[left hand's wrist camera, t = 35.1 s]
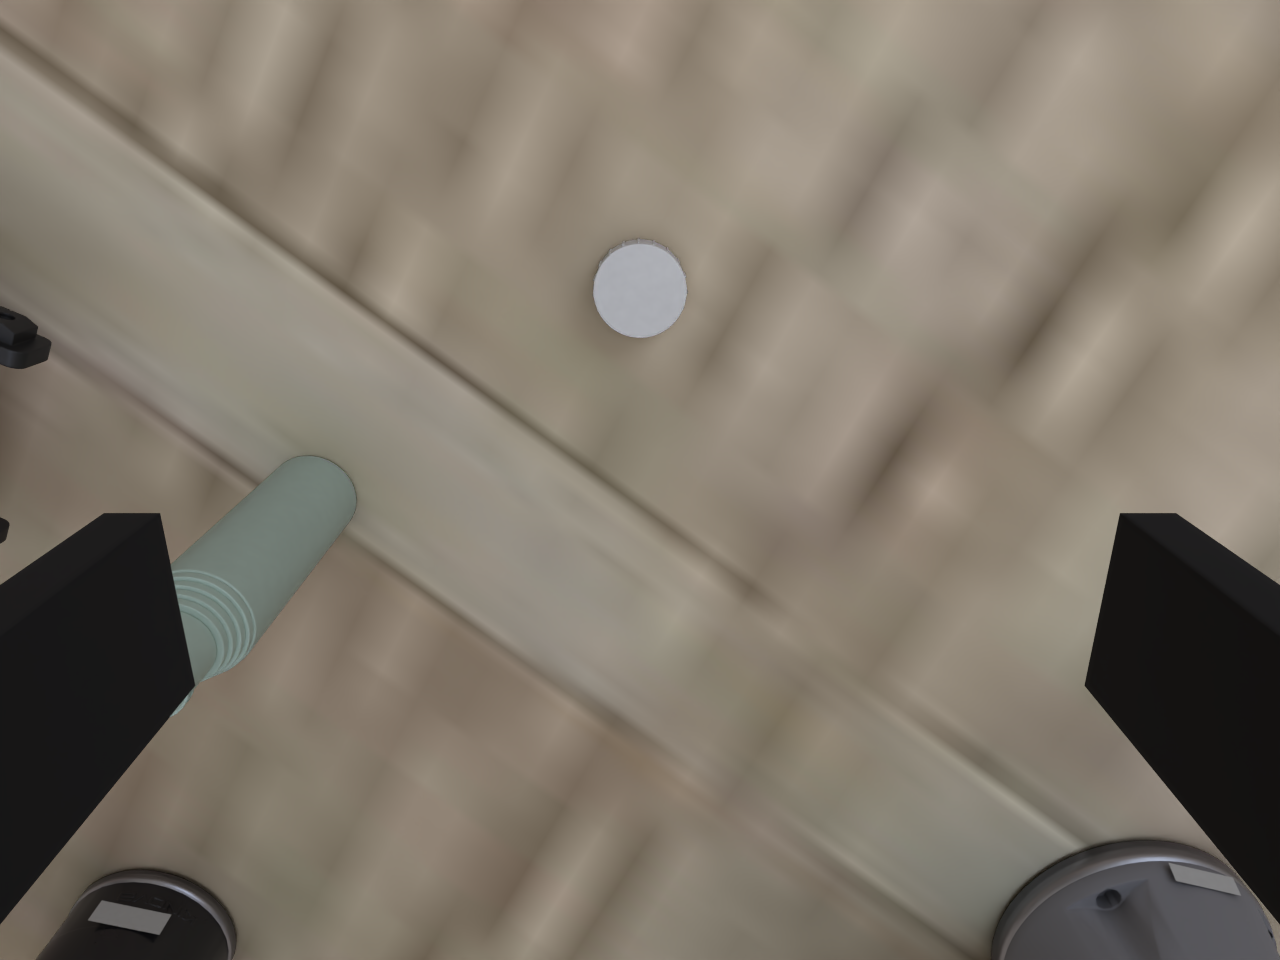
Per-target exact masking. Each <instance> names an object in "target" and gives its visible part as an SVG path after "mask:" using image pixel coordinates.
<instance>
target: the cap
mask: <svg viewBox="0 0 1280 960" xmlns="http://www.w3.org/2000/svg"><path fill="white" fill-rule="evenodd" d="M685 278H686V275H685V272H683V270H682V267H681V265H680V261H679V259H678V258H676V257H675V256H674V255H673V253H672V252H671V251H670V250H669V248H668V247H664V246H663V245H661V244H659V243H657V242H655V240H653V241H651V240H645V239H640V238H638V239H635V240H630V241H626V242H625V241H623V242H622V243H621V244H619V245H617V246H616V247H614V248H613V249H610V250H609V252H608V253H607V255H606V256H605V257H604V258H603V260H602V261H601V260H600V263H599V268H598V271H597V274H596V275H595V276H594V279H593V281H594V288H593V297H594V301H595V305H596V308H597V311H598V312H599V314H600V316H601V317H602V319H603V320H604V321H605V322H606V323H607V325H609V326H610V327H611V328H612V329H614V330H615V331H617V332H619V333H621V334H623V335H626V336H629V337H634V338H646V337H651V336H654V335H657V334H660V333H662V332H663V331H665V330H666V329H668V328H669V327H670V326H671V325H673V324H674V322H675V321H676V320H677V319H678V317H679V316H680V314H681V312H682V310H683V309H684V305H685V301H686V295H687V294H688V291H687V286H686V280H685Z"/></svg>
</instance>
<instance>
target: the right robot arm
mask: <svg viewBox="0 0 1280 960" xmlns="http://www.w3.org/2000/svg"><path fill="white" fill-rule="evenodd" d="M37 329H38V326H37V325H35V324H34V323H33V322H32V321H31V320H29V319H28V318H27V317H26V316H23V315H21V314H19V313H16V312H14V311H10V310H9V309H7V308H4V307H2V306H0V364H1V365H4V366H6V367H10V368H15V369H24V368H27V367H30V366H33V365H36V364H38V363H41V362H44V361H46V360H48V356H49V352H50V347H51V341H50V340H48V339H47V338H45V337H42V336H40V335H37ZM8 529H9V522H8V521H7V520H5V519H3V518H0V543H2V542H4V541H5V540H6V537H7V533H8ZM235 949H236V934H235V930H234V927H233V924H232V922H231V919H230V917H229V916H228V914H227V912H226V911H225V910H224V908H223V907H222V906H221V905H220V904H219V902H218V901H217V900H216V899H214V898H213V897H212V896H211V895H210V894H209V893H207V892H206V891H205V890H203V889H202V888H200V887H199V886H197V885H195V884H193V883H191V882H189V881H187V880H185V879H182V878H180V877H177V876H174V875H171V874H167V873H162V872H157V871H149V870H131V871H123V872H118V873H114V874H111V875H108V876H106V877H103V878H101V879H99V880H98V881H96V882H94V883H93V884H92V885H91V886H89V887H88V888H87V889H86V890H85V891H84V893H83V894H82V895H81V896H80V898H79V899H78V900H77V902H76V903H75V905H74V906H73V907H72V909H71V911H70V913H69V915H68V917H67V919H66V920H65V921H64V923H63V924H62V925H61V927H60V928H59V929H58V931H57V932H56V933H55V935H54V936H53V937H52V939H51V940H50V941H49V943H48V944H47V945H46V947H45V948H44V949H43V950H42V952H41V953H40V954H39V956H38V957H37V958H36V960H232V959H233V956H234V953H235Z"/></svg>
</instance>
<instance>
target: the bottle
mask: <svg viewBox="0 0 1280 960" xmlns="http://www.w3.org/2000/svg"><path fill="white" fill-rule="evenodd" d="M355 509H356V493H355V489H354V486H353V484H352V482H351V480H350V479H349V477H348V476H347V474H346V473H345V472H344V471H343V470H342V469H341V468H340V467H338V466H337V465H336V464H334V463H332V462H331V461H328V460H326V459H323V458H320V457H316V456H300V457H295V458H292V459H290V460H288V461H286V462H285V463H283V464H282V465H281V466H280V467H278V468H277V469H276V470H275V471H274V472H273V473H272V474H271V475H270V476H268V477H267V478H266V479H265V480H264V481H263V482H262V483H261V484H260V485H258V486H257V487H256V488H255V489H254V490H253V491H252V492H251V493H250V494H248V495H247V496H246V497H245V498H244V499H243V500H242V501H241V502H240V503H238V504H237V505H236V506H235V507H234V508H233V509H232V510H231V511H230V512H228V513H227V514H226V515H225V516H224V517H223V518H222V519H221V520H220V521H218V522H217V523H216V524H215V525H214V526H213V527H212V528H211V529H210V530H208V531H207V532H206V533H205V534H204V535H203V536H202V537H201V538H200V539H198V540H197V541H196V542H195V543H194V544H193V545H192V546H191V547H190V548H188V549H187V550H186V551H185V552H184V553H183V554H182V555H181V556H180V557H178V558H177V559H176V560H175V561H174V562H173V563H172V564H171V569H172V574H173V579H174V584H175V589H176V594H177V599H178V603H179V608H180V613H181V618H182V623H183V628H184V633H185V637H186V642H187V647H188V652H189V657H190V662H191V667H192V672H193V676H194V681H195V687H194V688H193V689H192V690H191V692H190V693H189V694H188V695H187V696H186V698H185V699H184V700H183V701H182V703H181V704H180V705H179V706H178V707H177V709H176V710H175V711H174V712H173V714H172V715H171V716H173V715H175V714H177V713H178V712H179V711H180V710H181V709H182V708H183V707H184V706H185V704H186V703H187V702H188V701H189V699H190V697H191V696H192V694H193V692H194V689H195V688H196V686H197V685H198V684H199V683H200V682H202V681H204V680H207V679H209V678H211V677H214V676H216V675H218V674H221V673H223V672H225V671H228V670H229V669H231V668H233V667H234V666H235V665H237V664H238V663H239V662H240V661H241V660H243V659H244V658H245V657H246V656H247V655H248V654H249V652H250V651H251V650H252V648H253V647H254V646H255V644H256V643H257V642H258V641H259V639H260V638H261V637H262V635H263V634H264V633H265V631H266V630H267V629H268V627H269V626H270V625H271V624H272V622H273V621H274V620H275V618H276V617H277V616H278V614H279V613H280V612H281V610H282V609H283V608H284V607H285V605H286V604H287V603H288V601H289V600H290V599H291V597H292V596H293V595H294V593H295V592H296V591H297V590H298V588H299V587H300V586H301V584H302V583H303V582H304V580H305V579H306V578H307V576H308V575H309V574H310V573H311V571H312V570H313V569H314V567H315V566H316V565H317V563H318V562H319V561H320V559H321V558H322V557H323V556H324V554H325V553H326V552H327V550H328V549H329V548H330V546H331V545H332V544H333V543H334V541H335V540H336V539H337V537H338V536H339V535H340V533H341V532H342V531H343V529H344V528H345V527H346V526H347V524H348V523H349V522H350V520H351V519H352V517H353V515H354V512H355ZM171 716H170V717H171Z"/></svg>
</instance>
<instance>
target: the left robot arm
mask: <svg viewBox="0 0 1280 960" xmlns="http://www.w3.org/2000/svg"><path fill="white" fill-rule="evenodd" d="M194 687H195V681H194V676H193V672H192V667H191V662H190V657H189V652H188V647H187V642H186V637H185V633H184V628H183V623H182V618H181V613H180V608H179V603H178V599H177V594H176V589H175V584H174V579H173V574H172V569H171V565H170V560H169V555H168V550H167V545H166V540H165V535H164V531H163V526H162V521H161V516H160V513H104V514H102V515H101V516H99V517H98V518H96V519H95V520H94V521H92V522H91V523H89V524H88V525H86V526H85V527H83V528H82V529H81V530H79V531H78V532H76V533H75V534H73V535H72V536H70V537H69V538H68V539H66V540H65V541H63V542H62V543H60V544H59V545H57V546H56V547H55V548H53V549H52V550H50V551H49V552H47V553H46V554H44V555H43V556H42V557H40V558H39V559H37V560H36V561H34V562H33V563H31V564H30V565H29V566H27V567H26V568H24V569H23V570H21V571H20V572H18V573H17V574H16V575H14V576H13V577H11V578H10V579H8V580H7V581H5V582H4V583H3V584H1V585H0V924H1V923H2V921H3V920H4V919H5V918H6V916H7V915H8V914H9V913H10V912H11V910H12V909H13V908H14V907H15V905H16V904H17V903H18V902H19V901H20V899H21V898H22V897H23V896H24V894H25V893H26V892H27V891H28V890H29V888H30V887H31V886H32V885H33V883H34V882H35V881H36V880H37V879H38V877H39V876H40V875H41V874H42V872H43V871H44V870H45V869H46V868H47V866H48V865H49V864H50V863H51V861H52V860H53V859H54V858H55V857H56V855H57V854H58V853H59V852H60V850H61V849H62V848H63V847H64V846H65V844H66V843H67V842H68V841H69V839H70V838H71V837H72V836H73V835H74V833H75V832H76V831H77V830H78V828H79V827H80V826H81V825H82V824H83V822H84V821H85V820H86V819H87V817H88V816H89V815H90V814H91V813H92V811H93V810H94V809H95V808H96V806H97V805H98V804H99V803H100V802H101V800H102V799H103V798H104V797H105V795H106V794H107V793H108V792H109V791H110V789H111V788H112V787H113V786H114V784H115V783H116V782H117V781H118V780H119V778H120V777H121V776H122V775H123V773H124V772H125V771H126V770H127V769H128V767H129V766H130V765H131V764H132V762H133V761H134V760H135V759H136V758H137V756H138V755H139V754H140V753H141V751H142V750H143V749H144V748H145V747H146V745H147V744H148V743H149V742H150V740H151V739H152V738H153V737H154V736H155V734H156V733H157V732H158V731H159V729H160V728H161V727H162V726H163V725H164V723H165V722H166V721H167V720H168V718H169V717H170V716H171V715H172V714H173V712H174V711H175V710H176V709H177V707H178V706H179V705H180V704H181V703H182V701H183V700H184V699H185V698H186V696H187V695H188V694H189V693H190V692H191V690H192V689H193V688H194ZM1085 687H1086V688H1087V689H1088V690H1089V692H1090V693H1091V694H1092V695H1093V696H1094V698H1095V699H1096V700H1097V701H1098V703H1099V704H1100V705H1101V706H1102V707H1103V709H1104V710H1105V711H1106V712H1107V714H1108V715H1109V716H1110V717H1111V718H1112V720H1113V721H1114V722H1115V723H1116V725H1117V726H1118V727H1119V728H1120V729H1121V731H1122V732H1123V733H1124V734H1125V736H1126V737H1127V738H1128V739H1129V740H1130V742H1131V743H1132V744H1133V745H1134V747H1135V748H1136V749H1137V750H1138V751H1139V753H1140V754H1141V755H1142V756H1143V758H1144V759H1145V760H1146V761H1147V762H1148V764H1149V765H1150V766H1151V767H1152V769H1153V770H1154V771H1155V772H1156V773H1157V775H1158V776H1159V777H1160V778H1161V780H1162V781H1163V782H1164V783H1165V784H1166V786H1167V787H1168V788H1169V789H1170V791H1171V792H1172V793H1173V794H1174V795H1175V797H1176V798H1177V799H1178V800H1179V802H1180V803H1181V804H1182V805H1183V806H1184V808H1185V809H1186V810H1187V811H1188V813H1189V814H1190V815H1191V816H1192V817H1193V819H1194V820H1195V821H1196V822H1197V824H1198V825H1199V826H1200V827H1201V828H1202V830H1203V831H1204V832H1205V833H1206V835H1207V836H1208V837H1209V838H1210V839H1211V841H1212V842H1213V843H1214V844H1215V846H1216V847H1217V848H1218V849H1219V850H1220V852H1221V853H1222V854H1223V855H1224V857H1225V858H1226V859H1227V860H1228V861H1229V863H1230V864H1231V865H1232V866H1233V868H1234V869H1235V870H1236V871H1237V872H1238V874H1239V875H1240V876H1241V877H1242V879H1243V880H1244V881H1245V882H1246V883H1247V885H1248V886H1249V887H1250V888H1251V890H1252V891H1253V892H1254V893H1255V894H1256V896H1257V897H1258V898H1259V899H1260V901H1261V902H1262V903H1263V904H1264V905H1265V907H1266V908H1267V909H1268V910H1269V912H1270V913H1271V914H1272V915H1273V916H1274V918H1275V919H1276V920H1277V921H1278V923H1279V924H1280V585H1279V584H1277V583H1276V582H1275V581H1273V580H1272V579H1270V578H1269V577H1267V576H1266V575H1264V574H1263V573H1262V572H1260V571H1259V570H1257V569H1256V568H1254V567H1253V566H1251V565H1250V564H1249V563H1247V562H1246V561H1244V560H1243V559H1241V558H1240V557H1238V556H1237V555H1236V554H1234V553H1233V552H1231V551H1230V550H1228V549H1227V548H1225V547H1224V546H1223V545H1221V544H1220V543H1218V542H1217V541H1215V540H1214V539H1212V538H1211V537H1210V536H1208V535H1207V534H1205V533H1204V532H1202V531H1201V530H1199V529H1198V528H1197V527H1195V526H1194V525H1192V524H1191V523H1189V522H1188V521H1186V520H1185V519H1184V518H1182V517H1181V516H1179V515H1178V514H1176V513H1120V516H1119V521H1118V526H1117V531H1116V535H1115V540H1114V545H1113V550H1112V555H1111V560H1110V565H1109V569H1108V574H1107V579H1106V584H1105V589H1104V594H1103V599H1102V603H1101V608H1100V613H1099V618H1098V623H1097V628H1096V633H1095V637H1094V642H1093V647H1092V652H1091V657H1090V662H1089V667H1088V672H1087V676H1086V681H1085ZM992 960H1280V956H1279V954H1278V952H1277V947H1276V942H1275V938H1274V935H1273V932H1272V929H1271V926H1270V923H1269V921H1268V919H1267V917H1266V915H1265V914H1264V912H1263V909H1262V907H1261V906H1260V904H1259V903H1258V901H1257V900H1256V898H1255V897H1254V896H1253V895H1252V893H1251V892H1250V891H1249V890H1248V888H1247V887H1246V886H1245V885H1244V884H1243V882H1242V881H1241V880H1240V879H1239V877H1238V876H1237V875H1236V874H1235V873H1234V872H1233V871H1232V870H1231V869H1230V868H1229V867H1228V866H1227V865H1226V864H1224V863H1223V862H1221V861H1220V860H1219V859H1217V858H1215V857H1214V856H1212V855H1210V854H1208V853H1206V852H1204V851H1201V850H1199V849H1196V848H1193V847H1190V846H1187V845H1182V844H1178V843H1173V842H1165V841H1151V840H1144V841H1128V842H1120V843H1114V844H1109V845H1105V846H1101V847H1097V848H1093V849H1090V850H1087V851H1084V852H1081V853H1079V854H1077V855H1074V856H1072V857H1069V858H1067V859H1066V860H1064V861H1062V862H1060V863H1058V864H1056V865H1054V866H1053V867H1051V868H1049V869H1048V870H1046V871H1045V872H1043V873H1042V874H1040V875H1039V876H1038V877H1036V878H1035V879H1034V880H1033V881H1031V882H1030V883H1029V884H1028V885H1027V886H1026V887H1025V888H1024V889H1023V890H1022V891H1021V892H1020V893H1019V894H1018V895H1017V896H1016V897H1015V898H1014V900H1013V901H1012V902H1011V903H1010V905H1009V906H1008V908H1007V909H1006V911H1005V912H1004V914H1003V916H1002V918H1001V920H1000V921H999V924H998V926H997V929H996V931H995V935H994V939H993V944H992Z"/></svg>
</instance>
